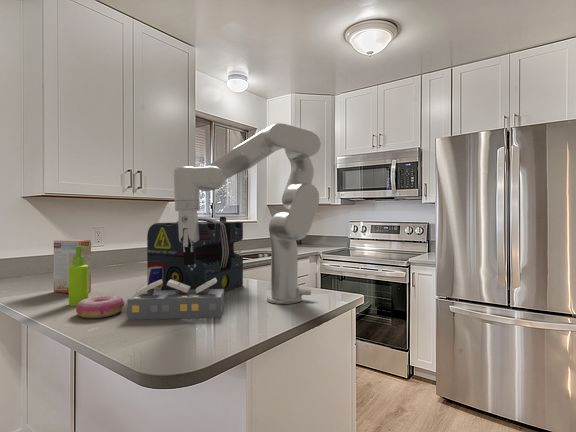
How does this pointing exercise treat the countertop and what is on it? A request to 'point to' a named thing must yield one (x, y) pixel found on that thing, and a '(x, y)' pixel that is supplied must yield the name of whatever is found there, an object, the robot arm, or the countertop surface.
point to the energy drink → (155, 276)
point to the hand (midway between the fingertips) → (189, 264)
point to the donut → (100, 306)
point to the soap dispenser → (78, 278)
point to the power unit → (198, 254)
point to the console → (175, 304)
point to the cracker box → (69, 262)
